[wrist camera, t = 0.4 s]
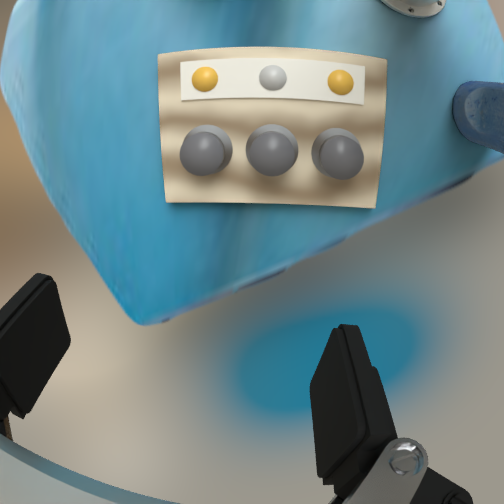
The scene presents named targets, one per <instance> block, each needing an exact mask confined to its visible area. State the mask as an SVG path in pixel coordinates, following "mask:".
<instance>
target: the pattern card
mask: <svg viewBox="0 0 504 504" xmlns="http://www.w3.org/2000/svg"><path fill="white" fill-rule="evenodd" d="M180 74H181V100H193V99H210V98H293V99H310V100H324V101H335V102H344V103H353V104H361V105H364V88H365V66H360V65H353V64H345V63H337V62H328V61H317V60H304V59H285V58H229V59H210V60H197V61H186V62H180Z"/></svg>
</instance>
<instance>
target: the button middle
mask: <svg viewBox="0 0 504 504" xmlns="http://www.w3.org/2000/svg"><path fill="white" fill-rule="evenodd" d="M249 156H250V161H251V164H252V166H253V167H254V168H255V169H256V170H257V171H258V172H259V173H261V174H263V175H266V176H279V175H282V174H284V173H285V172H287V171H288V170H289V169H290V167H291V166H292V164H293V162H294V158H295V152H294V148H293V146H292V143H291V142H290V140H289V139H288V138H287V137H286V136H285V135H284V134H282V133H279V132H276V131H268V132H264V133H262V134H260V135H259V136H258V137H256V139H255V140H254V141H253V143H252V145H251V148H250V153H249Z"/></svg>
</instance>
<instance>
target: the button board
mask: <svg viewBox="0 0 504 504" xmlns="http://www.w3.org/2000/svg"><path fill="white" fill-rule="evenodd" d="M229 58H285V59H304V60H317V61H328V62H337V63H345V64H353V65H360V66H365V88H364V105H361V104H353V103H344V102H335V101H324V100H310V99H293V98H210V99H193V100H181V74H180V62H186V61H197V60H210V59H229ZM386 89H387V59H382V58H377V57H371V56H365V55H359V54H352V53H345V52H337V51H328V50H318V49H305V48H288V47H229V48H211V49H198V50H188V51H179V52H171V53H164V54H158V90H159V116H160V135H161V150H162V164H163V176H164V187H165V197H166V202H227V203H275V204H303V205H325V206H344V207H361V208H375V206H376V199H377V192H378V184H379V176H380V168H381V159H382V149H383V138H384V125H385V110H386ZM268 131H276V132H279V133H282V134H284V135H285V136H286V137H287V138H288V139H289V140H290V142H291V143H292V146H293V148H294V152H295V158H294V162H293V164H292V166H291V167H290V169H289V170H288V171H287V172H285V173H284V174H282V175H279V176H266V175H263V174H261V173H259V172H258V171H257V170H256V169H255V168H254V167H253V166H252V164H251V161H250V156H249V153H250V148H251V145H252V143H253V141H254V140H255V139H256V137H258V136H259V135H260V134H262V133H264V132H268ZM198 132H210V133H213V134H215V135H217V136H218V137H219V138H220V139H221V141H222V142H223V144H224V147H225V157H224V160H223V162H222V163H221V165H220V166H219V167H218V169H217V170H216V171H215V172H213V173H211V174H209V175H206V176H197V175H193V174H191V173H190V172H188V171H187V170H186V169H185V168H184V167H183V165H182V163H181V161H180V148H181V146H182V144H183V142H184V141H185V140H186V139H187V138H188V137H190V136H192V135H194V134H196V133H198ZM335 135H343V136H347V137H349V138H351V139H352V140H354V141H355V142H357V143H358V144H359V145H360V147H361V149H362V151H363V154H364V163H363V166H362V169H361V170H360V172H359V173H358V174H357V175H356V176H354V177H352V178H350V179H347V180H339V179H335V178H333V177H331V176H330V175H329V174H328V173H327V172H326V171H325V170H324V168H323V167H322V165H321V163H320V160H319V150H320V147H321V145H322V144H323V142H324V141H325V140H326V139H328V138H329V137H331V136H335Z"/></svg>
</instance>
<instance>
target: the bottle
mask: <svg viewBox="0 0 504 504" xmlns="http://www.w3.org/2000/svg"><path fill="white" fill-rule="evenodd" d="M453 116H454V120H455V122H456V125H457V127H458V129H459V131H460V132H461V133H462V135H463V136H465V137H466V138H467V139H468V140H470V141H471V142H474V143H477V144H480V145H483V146H485V147H488V148H491V149H494V150H496V151H499V152H501V153H503V154H504V83H496V82H481V81H469V82H466V83H464V84H462V85H461V86H460V87H459V89H458V90H457V92H456V94H455V96H454V101H453Z"/></svg>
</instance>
